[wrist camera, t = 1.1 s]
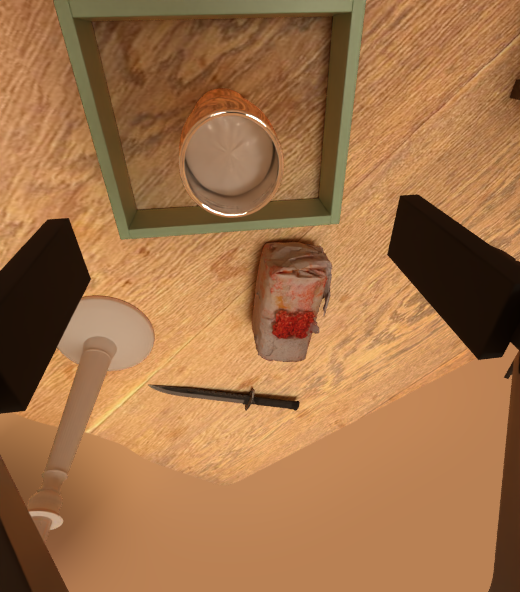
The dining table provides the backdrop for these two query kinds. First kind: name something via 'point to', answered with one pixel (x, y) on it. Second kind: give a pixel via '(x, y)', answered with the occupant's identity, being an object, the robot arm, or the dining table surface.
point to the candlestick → (88, 386)
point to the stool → (516, 90)
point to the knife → (228, 397)
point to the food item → (289, 299)
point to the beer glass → (229, 155)
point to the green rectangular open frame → (214, 5)
